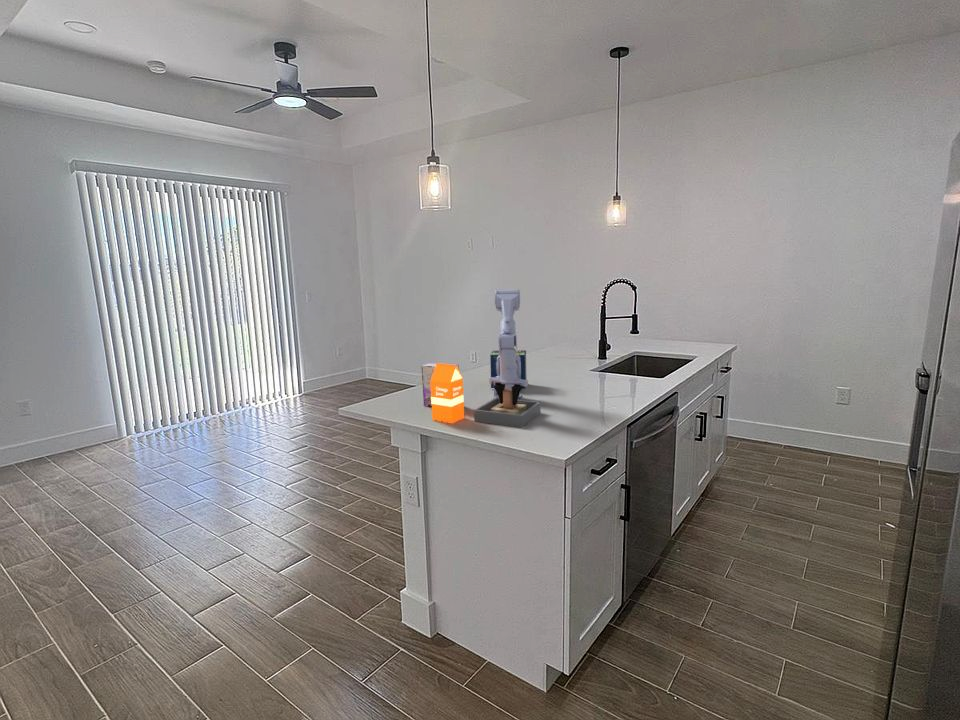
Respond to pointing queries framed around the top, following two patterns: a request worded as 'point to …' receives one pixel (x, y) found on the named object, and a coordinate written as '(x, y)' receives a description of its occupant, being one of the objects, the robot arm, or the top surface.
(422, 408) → the top surface
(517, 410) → the plate
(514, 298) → the robot arm
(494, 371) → the protein box
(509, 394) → the peg
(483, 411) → the tray
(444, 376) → the orange juice
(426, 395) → the candy box
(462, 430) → the top surface
